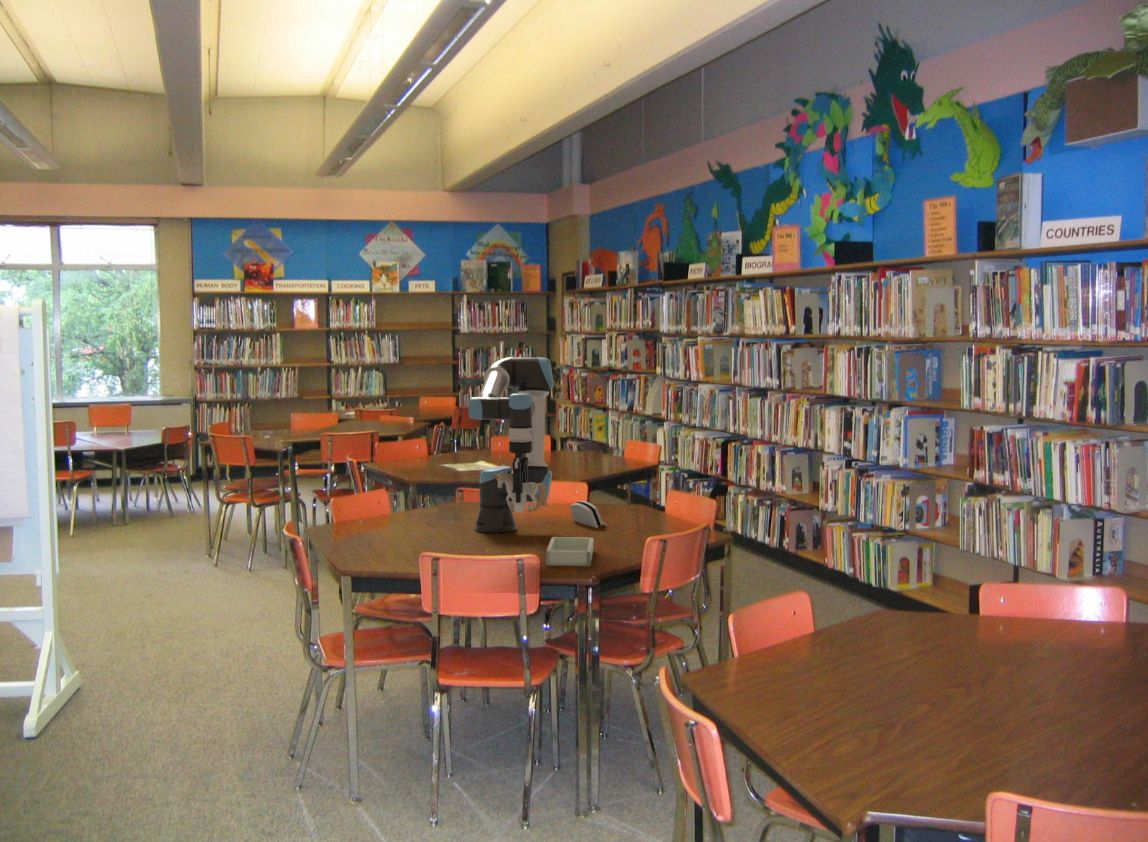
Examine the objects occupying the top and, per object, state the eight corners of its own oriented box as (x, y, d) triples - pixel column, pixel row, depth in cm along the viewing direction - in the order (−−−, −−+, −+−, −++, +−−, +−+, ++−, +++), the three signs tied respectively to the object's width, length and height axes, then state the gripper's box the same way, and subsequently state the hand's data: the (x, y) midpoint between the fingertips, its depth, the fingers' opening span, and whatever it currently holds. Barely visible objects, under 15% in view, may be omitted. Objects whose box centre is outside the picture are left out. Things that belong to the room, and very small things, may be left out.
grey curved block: (607, 526, 369) (599, 503, 367) (597, 532, 367) (589, 508, 365) (584, 519, 384) (576, 496, 381) (574, 524, 382) (567, 501, 379)
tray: (546, 565, 307) (546, 551, 307) (551, 550, 329) (552, 536, 329) (590, 566, 306) (590, 552, 306) (593, 550, 328) (593, 537, 328)
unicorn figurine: (488, 510, 323) (487, 470, 321) (545, 507, 326) (545, 468, 325) (490, 515, 316) (489, 474, 314) (549, 512, 319) (549, 472, 318)
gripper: (526, 443, 310) (526, 516, 312) (536, 437, 327) (536, 506, 329) (503, 443, 311) (503, 515, 313) (515, 437, 328) (515, 505, 331)
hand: (520, 510), depth 321 cm, fingers closed on unicorn figurine, 4 cm apart
